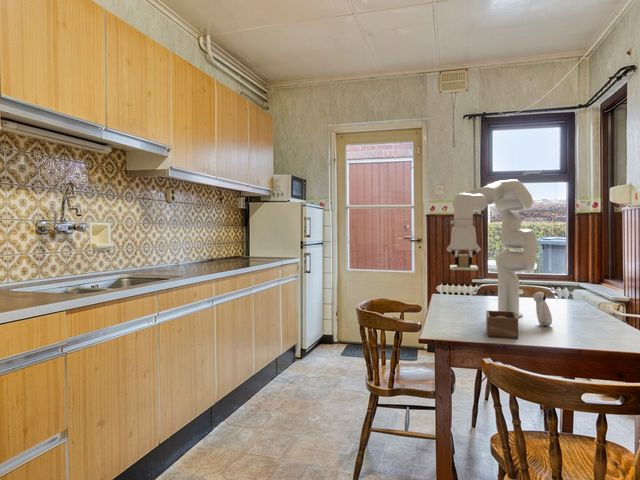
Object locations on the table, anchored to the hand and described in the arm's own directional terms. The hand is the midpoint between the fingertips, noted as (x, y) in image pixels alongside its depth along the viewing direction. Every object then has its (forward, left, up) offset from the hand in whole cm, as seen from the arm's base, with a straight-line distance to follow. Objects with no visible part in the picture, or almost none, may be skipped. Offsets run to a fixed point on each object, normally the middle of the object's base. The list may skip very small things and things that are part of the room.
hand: (463, 265), depth 181 cm
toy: (-17, +33, -28) cm, 46 cm away
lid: (-1, 0, -1) cm, 1 cm away
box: (+3, +15, -27) cm, 31 cm away
